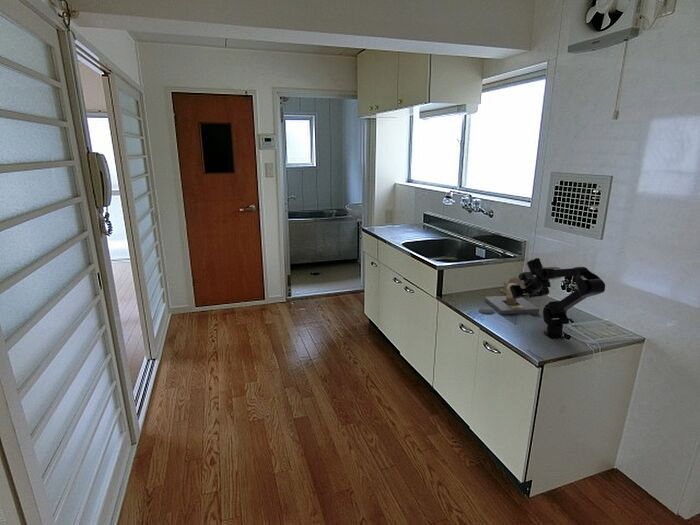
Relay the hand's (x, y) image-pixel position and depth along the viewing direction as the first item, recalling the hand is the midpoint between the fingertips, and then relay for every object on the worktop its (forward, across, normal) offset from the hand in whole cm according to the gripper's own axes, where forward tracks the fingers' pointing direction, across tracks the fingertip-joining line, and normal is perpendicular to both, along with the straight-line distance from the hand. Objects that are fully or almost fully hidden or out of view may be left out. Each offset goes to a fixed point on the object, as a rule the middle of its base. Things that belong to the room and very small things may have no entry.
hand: (521, 297), depth 200 cm
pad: (+9, +16, +4) cm, 19 cm away
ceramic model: (+27, -15, -14) cm, 34 cm away
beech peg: (+12, 0, +1) cm, 12 cm away
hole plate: (+12, 0, +1) cm, 12 cm away
